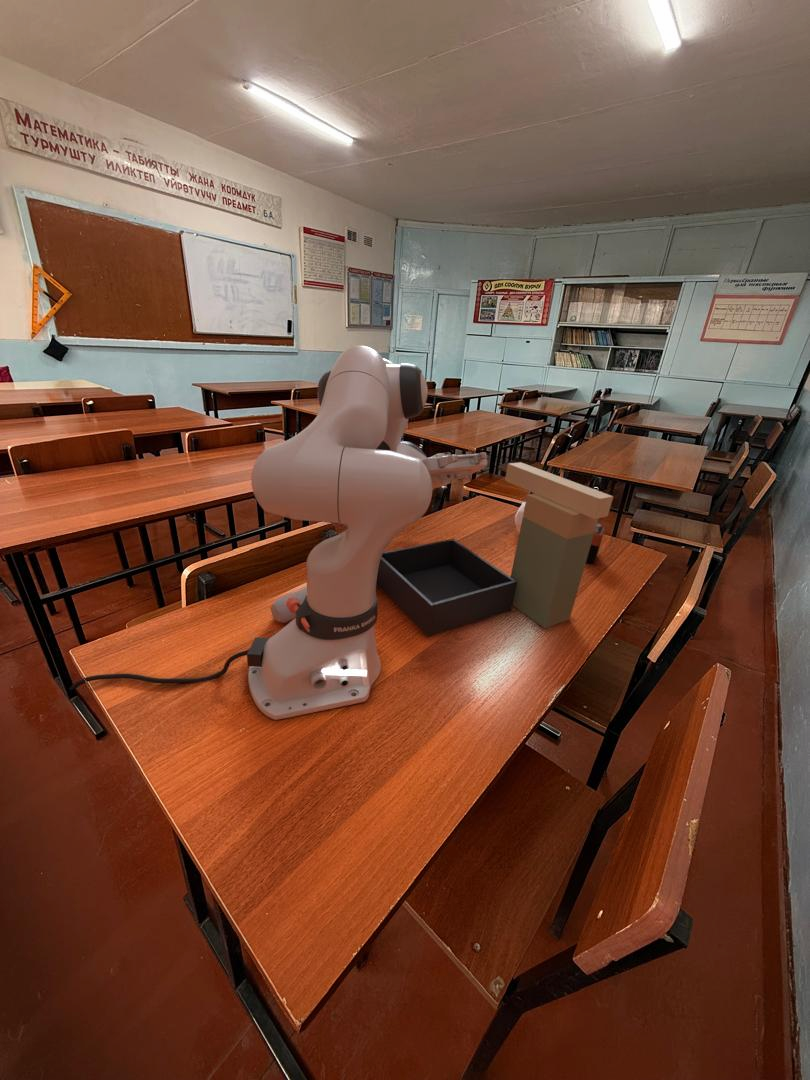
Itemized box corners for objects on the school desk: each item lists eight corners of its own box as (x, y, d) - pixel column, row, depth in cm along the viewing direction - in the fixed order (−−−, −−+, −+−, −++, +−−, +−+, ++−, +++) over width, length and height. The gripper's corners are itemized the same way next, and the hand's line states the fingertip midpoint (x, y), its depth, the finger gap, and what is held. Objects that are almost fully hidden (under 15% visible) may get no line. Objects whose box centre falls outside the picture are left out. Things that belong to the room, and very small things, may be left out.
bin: (427, 637, 87) (431, 605, 83) (373, 581, 105) (375, 553, 101) (511, 610, 98) (517, 581, 94) (449, 564, 116) (453, 538, 112)
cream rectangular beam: (594, 519, 80) (599, 498, 78) (504, 480, 98) (507, 463, 97) (607, 516, 82) (613, 496, 80) (517, 479, 100) (520, 462, 98)
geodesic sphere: (557, 541, 120) (570, 493, 122) (506, 529, 125) (520, 483, 127) (556, 554, 133) (568, 511, 136) (510, 542, 139) (522, 501, 141)
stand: (544, 628, 92) (573, 514, 81) (505, 600, 101) (527, 494, 90) (569, 619, 96) (600, 509, 85) (530, 592, 105) (553, 490, 94)
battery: (597, 556, 127) (606, 524, 123) (593, 564, 122) (602, 532, 117) (581, 551, 129) (590, 520, 125) (577, 560, 123) (586, 528, 119)
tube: (281, 615, 83) (379, 574, 99) (267, 596, 85) (365, 559, 102) (278, 632, 86) (373, 590, 103) (264, 613, 89) (359, 575, 105)
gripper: (406, 461, 117) (433, 446, 105) (466, 456, 127) (497, 442, 115) (410, 484, 117) (438, 472, 105) (470, 477, 127) (502, 465, 115)
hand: (470, 456), depth 110 cm, fingers open, 8 cm apart
